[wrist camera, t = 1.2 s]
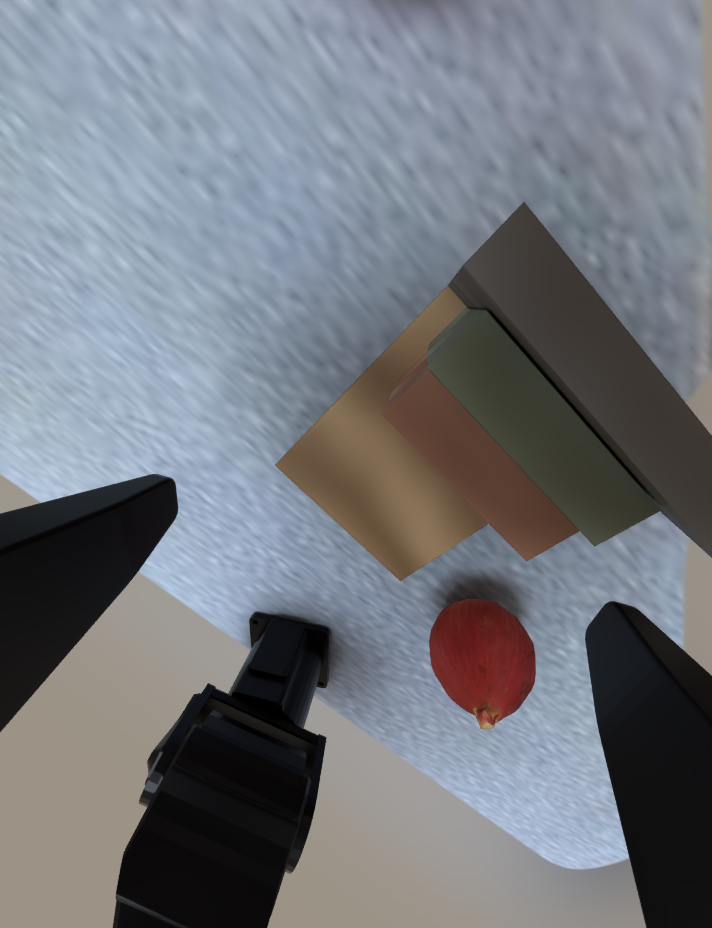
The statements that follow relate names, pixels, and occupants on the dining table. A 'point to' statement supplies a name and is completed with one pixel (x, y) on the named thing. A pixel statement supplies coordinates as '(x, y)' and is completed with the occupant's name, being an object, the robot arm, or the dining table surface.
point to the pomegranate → (482, 659)
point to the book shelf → (507, 420)
